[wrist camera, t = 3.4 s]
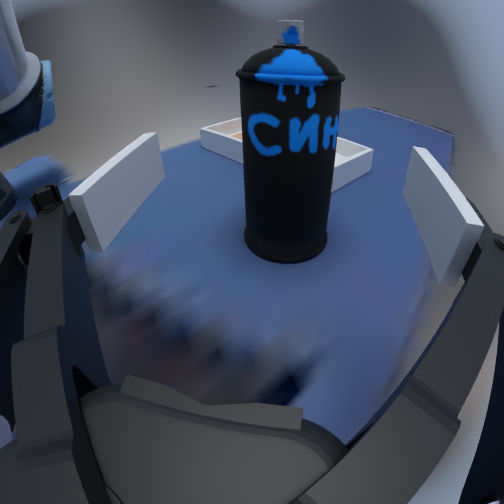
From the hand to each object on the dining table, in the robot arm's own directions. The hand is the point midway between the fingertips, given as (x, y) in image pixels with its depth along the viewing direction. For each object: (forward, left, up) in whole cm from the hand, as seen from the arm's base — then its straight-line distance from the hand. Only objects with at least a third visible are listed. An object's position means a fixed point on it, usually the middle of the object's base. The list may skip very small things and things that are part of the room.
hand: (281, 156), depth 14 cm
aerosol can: (-6, +8, -13) cm, 16 cm away
